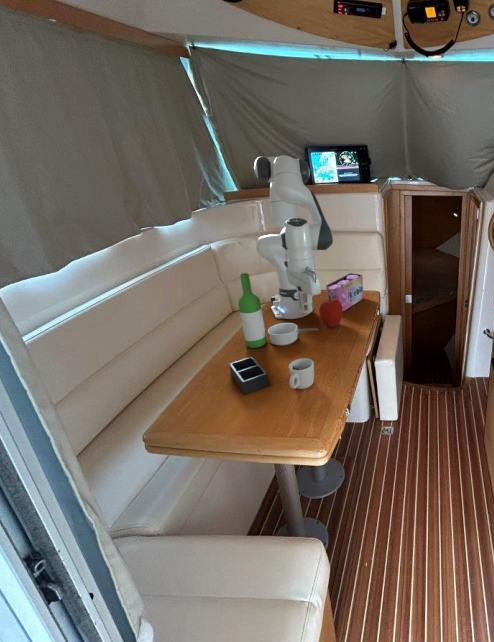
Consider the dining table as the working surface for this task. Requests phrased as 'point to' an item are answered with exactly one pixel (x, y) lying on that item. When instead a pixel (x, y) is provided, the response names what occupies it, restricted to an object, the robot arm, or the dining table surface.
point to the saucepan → (285, 333)
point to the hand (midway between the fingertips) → (305, 300)
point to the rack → (249, 374)
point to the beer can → (304, 301)
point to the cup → (301, 373)
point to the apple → (331, 312)
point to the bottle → (251, 315)
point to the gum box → (346, 290)
